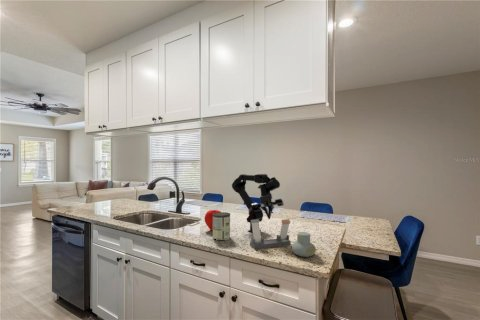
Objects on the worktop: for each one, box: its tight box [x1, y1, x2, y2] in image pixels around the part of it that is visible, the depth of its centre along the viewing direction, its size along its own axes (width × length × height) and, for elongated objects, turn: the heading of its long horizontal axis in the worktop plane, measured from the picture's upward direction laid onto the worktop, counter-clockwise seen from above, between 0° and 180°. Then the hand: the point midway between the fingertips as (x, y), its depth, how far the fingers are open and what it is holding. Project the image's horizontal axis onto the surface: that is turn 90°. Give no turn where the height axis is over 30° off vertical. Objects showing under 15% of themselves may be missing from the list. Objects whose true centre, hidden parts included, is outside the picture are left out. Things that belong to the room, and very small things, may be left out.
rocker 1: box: [251, 219, 262, 242], centre depth 125 cm, size 2×4×11 cm, turn 110°
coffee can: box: [212, 211, 231, 241], centre depth 138 cm, size 10×10×14 cm
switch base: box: [249, 234, 292, 250], centre depth 126 cm, size 6×21×4 cm, turn 110°
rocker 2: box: [279, 218, 291, 239], centre depth 127 cm, size 2×4×11 cm, turn 110°
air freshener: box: [291, 231, 317, 258], centre depth 112 cm, size 11×8×10 cm
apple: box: [204, 209, 222, 231], centre depth 155 cm, size 12×12×13 cm
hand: (269, 219), depth 137 cm, fingers closed
